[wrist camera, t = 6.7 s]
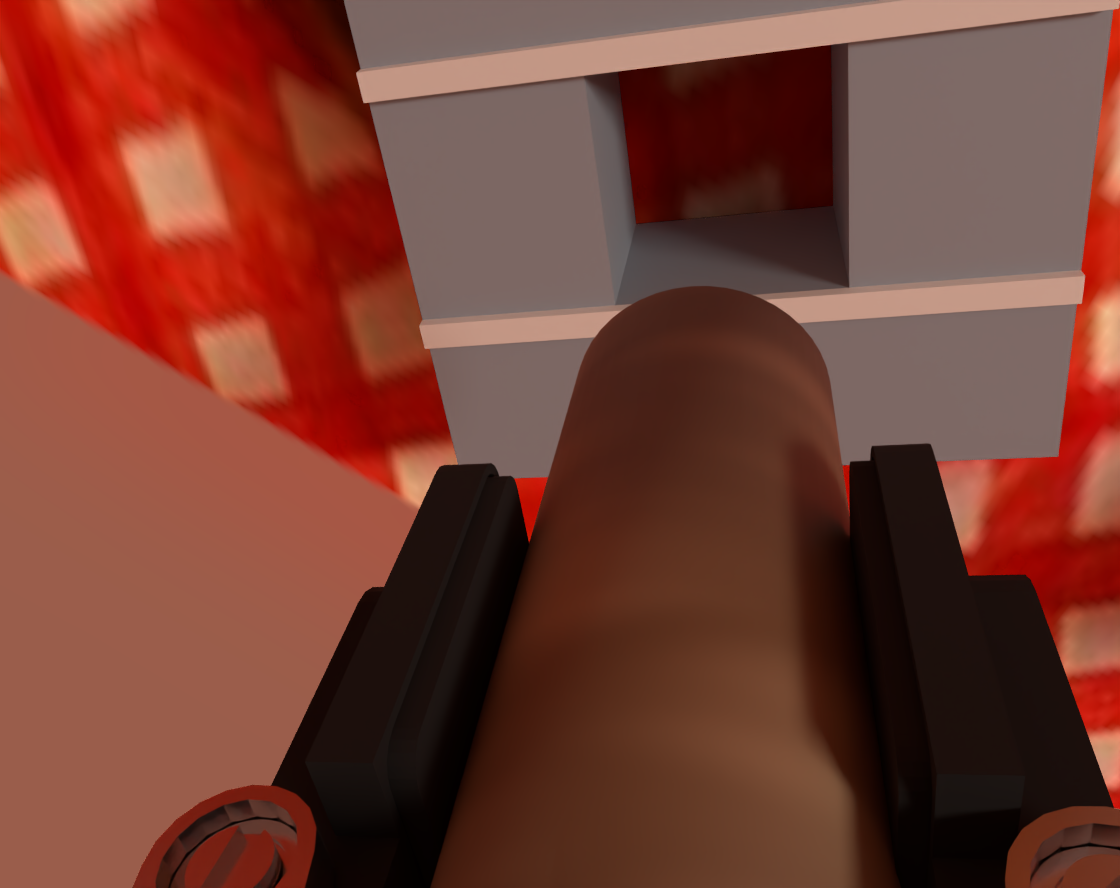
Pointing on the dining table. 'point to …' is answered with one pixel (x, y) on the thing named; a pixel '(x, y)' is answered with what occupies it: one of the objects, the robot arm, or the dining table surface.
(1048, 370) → the socket block
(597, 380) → the walnut peg
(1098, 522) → the dining table surface
